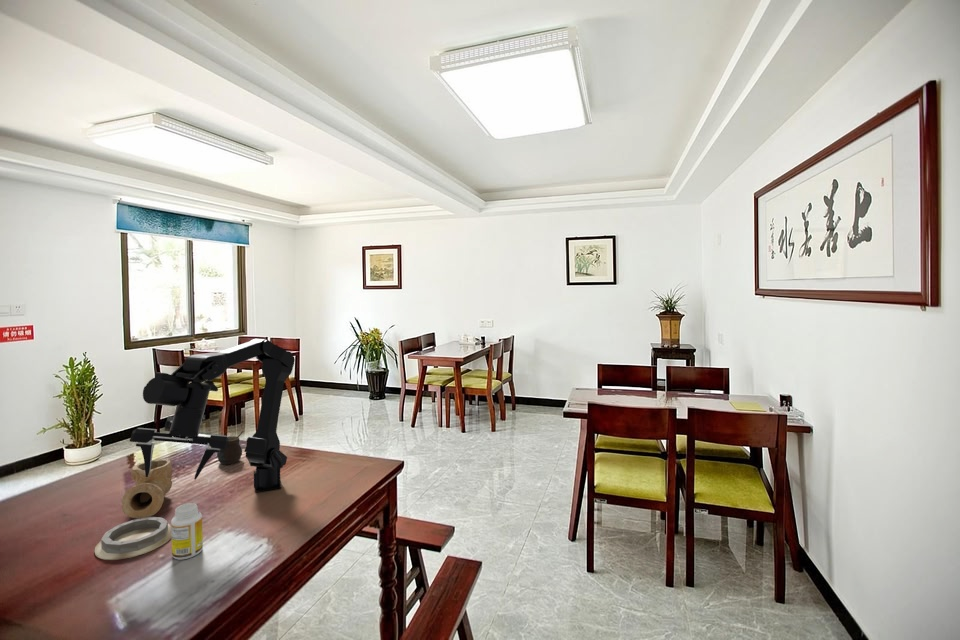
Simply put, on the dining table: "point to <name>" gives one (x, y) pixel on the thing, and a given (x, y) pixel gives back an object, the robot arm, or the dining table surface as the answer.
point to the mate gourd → (231, 451)
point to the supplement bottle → (186, 532)
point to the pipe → (147, 489)
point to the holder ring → (133, 538)
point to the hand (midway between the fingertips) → (171, 478)
